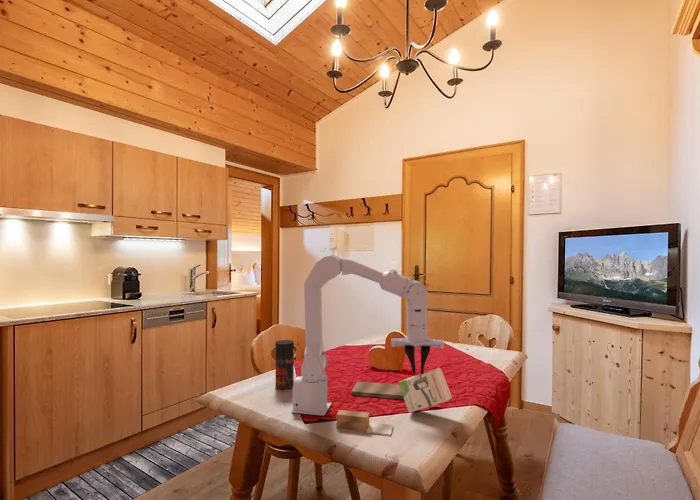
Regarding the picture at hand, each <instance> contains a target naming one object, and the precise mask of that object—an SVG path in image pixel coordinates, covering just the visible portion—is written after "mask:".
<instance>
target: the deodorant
mask: <svg viewBox="0 0 700 500" xmlns="http://www.w3.org/2000/svg"><path fill="white" fill-rule="evenodd" d="M294 343H295V341H294V340H292V339H280V340H276V341H275V390H277V391H281V392H285V391H290V390H293V383H294V380H295V378H294V376H295V374H294V372H295V371H294V368H295V367H294V363H295V361H294V359H295V358H294V357H295V356H294V355H295V353H294V352H295V347H294V346H295V344H294Z"/></svg>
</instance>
